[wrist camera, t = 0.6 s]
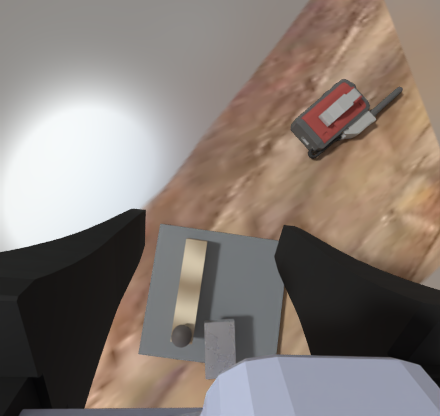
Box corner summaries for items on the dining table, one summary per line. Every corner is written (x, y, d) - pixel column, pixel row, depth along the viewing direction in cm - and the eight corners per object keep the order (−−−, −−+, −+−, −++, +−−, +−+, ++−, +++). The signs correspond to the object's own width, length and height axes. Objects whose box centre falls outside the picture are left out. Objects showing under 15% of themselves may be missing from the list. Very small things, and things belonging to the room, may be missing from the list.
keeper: (206, 362, 31) (205, 379, 28) (205, 312, 32) (204, 322, 28) (233, 360, 31) (236, 377, 28) (231, 311, 32) (234, 321, 29)
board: (272, 367, 33) (274, 371, 32) (140, 350, 32) (138, 354, 31) (286, 241, 34) (288, 242, 33) (161, 224, 34) (160, 223, 33)
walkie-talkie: (316, 170, 36) (398, 98, 38) (331, 162, 32) (423, 81, 33) (281, 131, 36) (364, 61, 38) (291, 118, 32) (383, 40, 34)
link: (193, 336, 31) (191, 350, 28) (172, 334, 31) (168, 347, 28) (207, 240, 33) (206, 242, 29) (187, 237, 32) (184, 239, 29)
